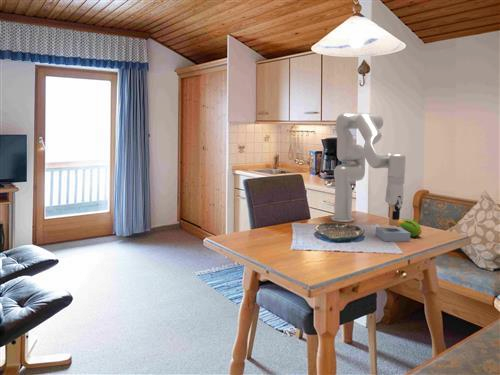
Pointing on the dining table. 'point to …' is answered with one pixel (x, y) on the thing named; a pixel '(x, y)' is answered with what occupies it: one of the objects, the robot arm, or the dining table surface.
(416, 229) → the corn
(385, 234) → the socket block
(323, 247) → the dining table surface
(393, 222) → the peg
